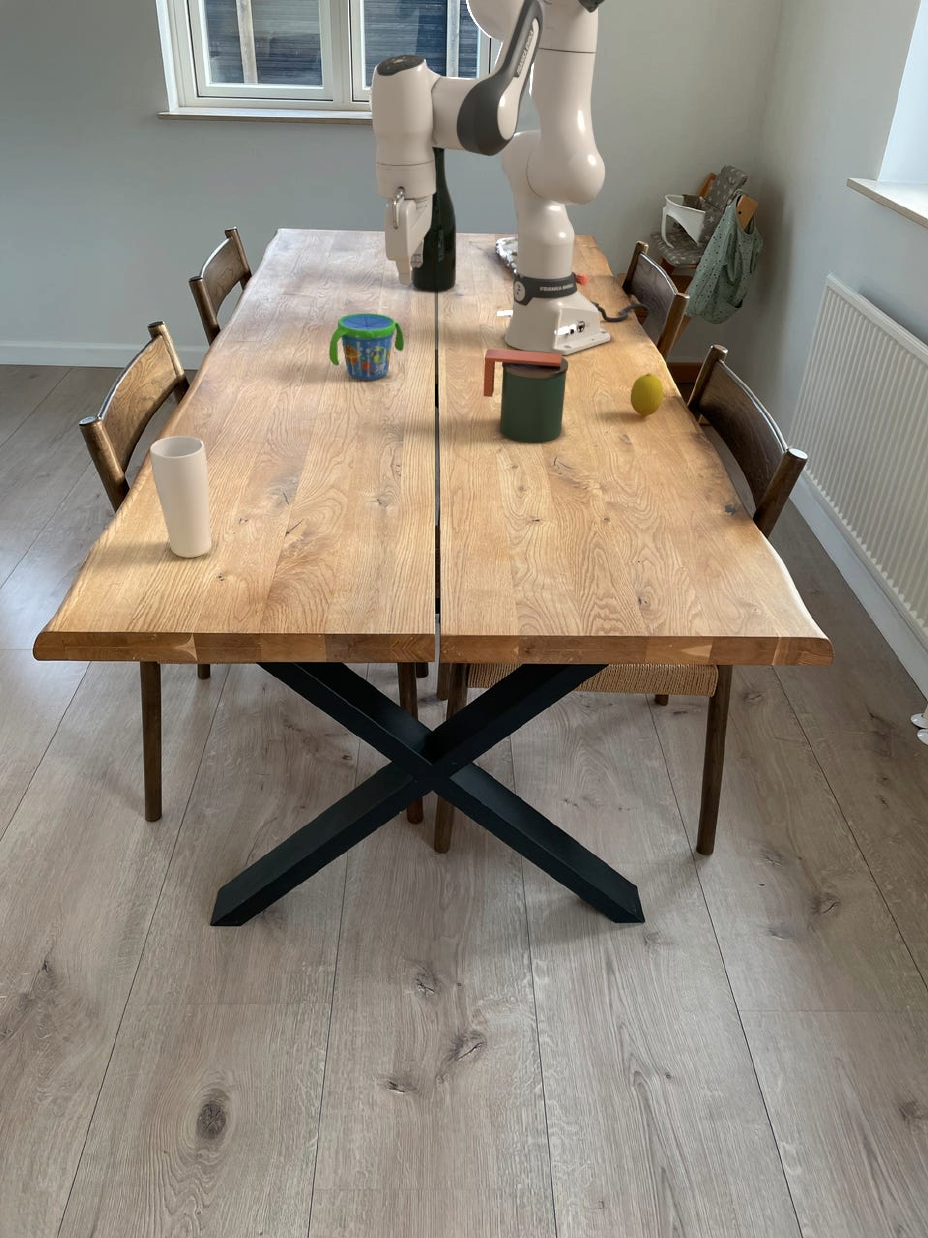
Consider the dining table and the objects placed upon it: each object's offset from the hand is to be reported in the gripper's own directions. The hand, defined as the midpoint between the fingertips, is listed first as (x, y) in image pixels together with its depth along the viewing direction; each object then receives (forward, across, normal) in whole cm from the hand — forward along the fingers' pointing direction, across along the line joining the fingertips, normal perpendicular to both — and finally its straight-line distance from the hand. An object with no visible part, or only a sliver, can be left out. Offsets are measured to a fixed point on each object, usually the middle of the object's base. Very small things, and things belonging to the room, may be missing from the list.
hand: (411, 274), depth 157 cm
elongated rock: (+27, +103, -8) cm, 107 cm away
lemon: (+27, +9, -38) cm, 48 cm away
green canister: (+26, 0, -19) cm, 32 cm away
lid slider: (+20, 0, -18) cm, 26 cm away
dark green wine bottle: (+26, +80, +10) cm, 84 cm away
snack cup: (+24, +19, +13) cm, 34 cm away
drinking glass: (+23, -49, +22) cm, 58 cm away
